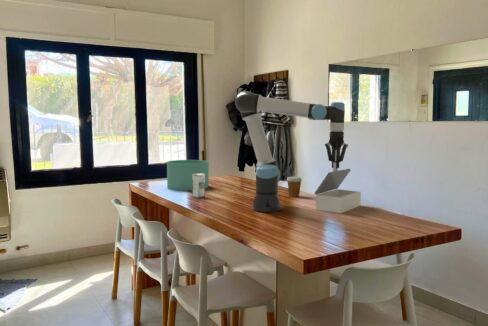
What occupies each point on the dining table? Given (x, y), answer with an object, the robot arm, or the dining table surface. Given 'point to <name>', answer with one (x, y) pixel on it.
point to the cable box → (338, 200)
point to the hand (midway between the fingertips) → (335, 174)
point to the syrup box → (198, 185)
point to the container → (185, 173)
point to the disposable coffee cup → (294, 186)
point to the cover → (332, 181)
